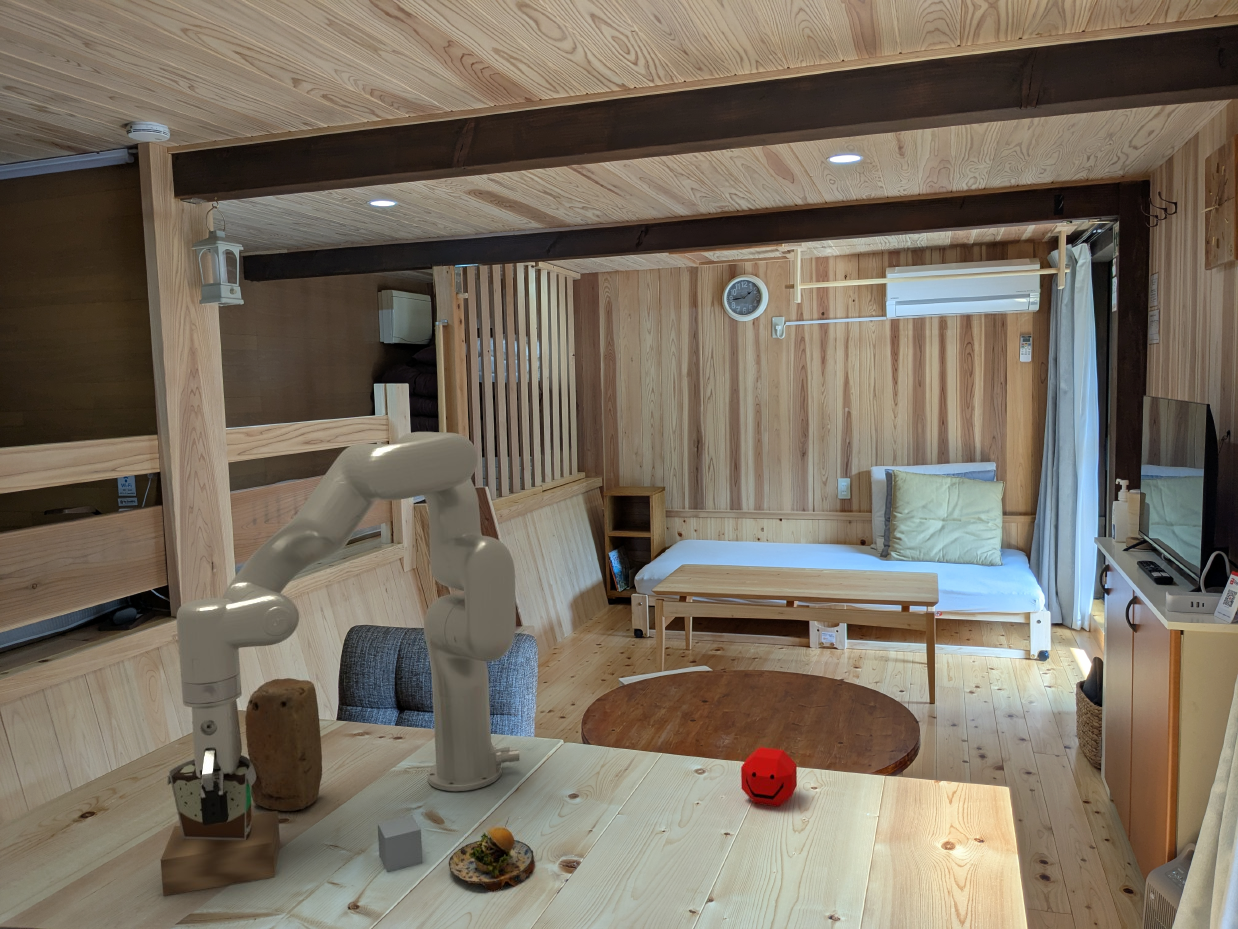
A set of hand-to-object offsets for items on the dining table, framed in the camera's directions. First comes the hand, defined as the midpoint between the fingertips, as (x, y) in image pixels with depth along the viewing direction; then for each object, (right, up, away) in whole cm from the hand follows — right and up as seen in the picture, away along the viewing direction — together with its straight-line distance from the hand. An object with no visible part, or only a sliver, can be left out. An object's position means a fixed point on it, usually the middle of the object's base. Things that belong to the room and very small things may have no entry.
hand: (220, 807), depth 128 cm
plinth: (0, -9, +1) cm, 9 cm away
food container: (0, -4, +2) cm, 4 cm away
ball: (+80, -5, +16) cm, 82 cm away
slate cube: (+25, -8, +2) cm, 26 cm away
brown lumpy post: (+2, -7, +21) cm, 22 cm away
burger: (+38, -8, -2) cm, 39 cm away
